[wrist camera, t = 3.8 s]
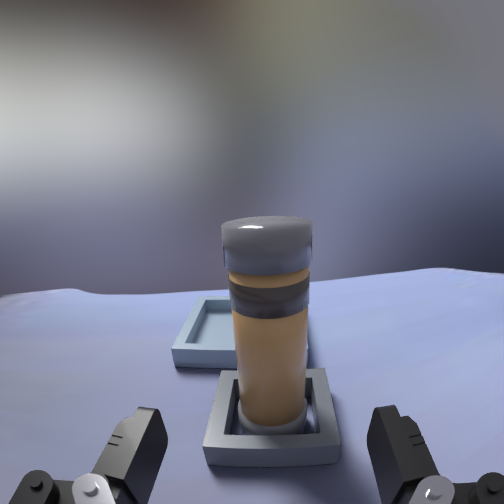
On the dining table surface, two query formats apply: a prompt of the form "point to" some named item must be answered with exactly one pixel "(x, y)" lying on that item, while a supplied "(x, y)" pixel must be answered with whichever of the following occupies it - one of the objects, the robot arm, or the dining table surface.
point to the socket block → (272, 446)
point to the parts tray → (208, 336)
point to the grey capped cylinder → (270, 319)
